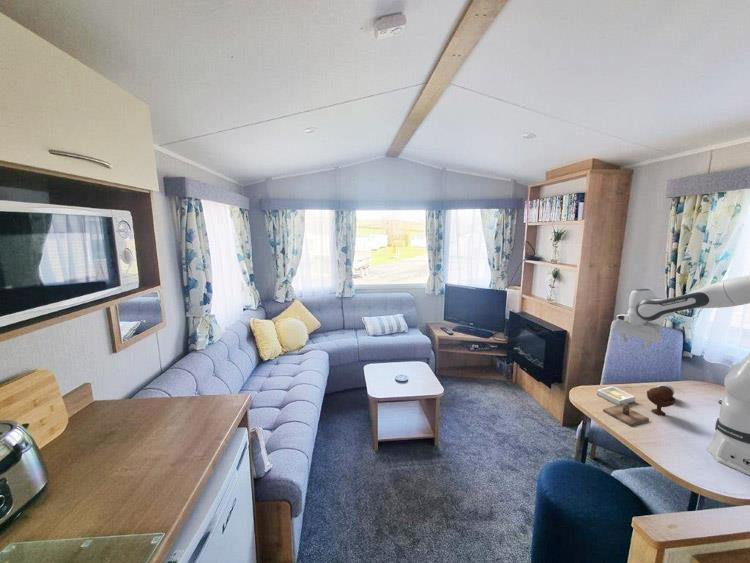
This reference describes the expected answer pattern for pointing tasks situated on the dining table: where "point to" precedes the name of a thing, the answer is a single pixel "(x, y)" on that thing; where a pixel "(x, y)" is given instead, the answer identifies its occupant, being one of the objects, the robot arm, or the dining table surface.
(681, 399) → the dining table surface
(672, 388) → the ceramic mug
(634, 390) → the dining table surface
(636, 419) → the lid
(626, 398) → the dish
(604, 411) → the mat
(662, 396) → the ice cream bowl
